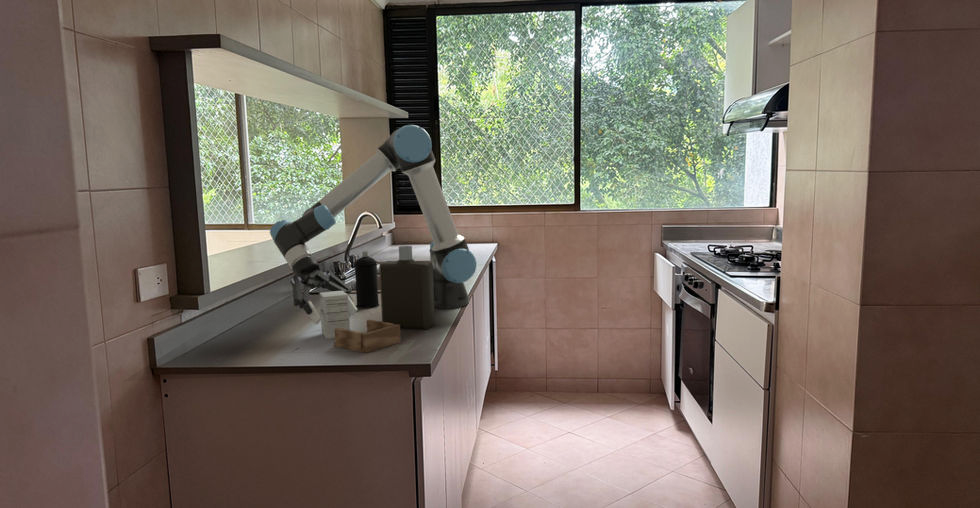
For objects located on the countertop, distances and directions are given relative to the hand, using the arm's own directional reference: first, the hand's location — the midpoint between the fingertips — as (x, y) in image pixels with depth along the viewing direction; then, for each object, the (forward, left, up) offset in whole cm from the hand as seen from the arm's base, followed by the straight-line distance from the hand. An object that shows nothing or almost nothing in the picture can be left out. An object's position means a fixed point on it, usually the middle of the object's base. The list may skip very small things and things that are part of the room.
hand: (337, 317), depth 192 cm
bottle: (-20, -9, -6) cm, 23 cm away
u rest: (-10, +11, -6) cm, 16 cm away
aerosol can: (-3, -42, -6) cm, 43 cm away
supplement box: (+1, -1, -6) cm, 6 cm away
